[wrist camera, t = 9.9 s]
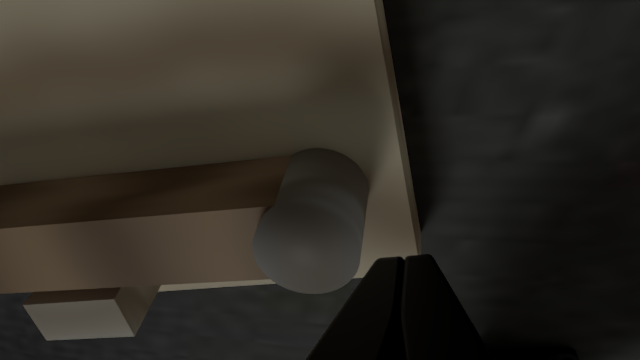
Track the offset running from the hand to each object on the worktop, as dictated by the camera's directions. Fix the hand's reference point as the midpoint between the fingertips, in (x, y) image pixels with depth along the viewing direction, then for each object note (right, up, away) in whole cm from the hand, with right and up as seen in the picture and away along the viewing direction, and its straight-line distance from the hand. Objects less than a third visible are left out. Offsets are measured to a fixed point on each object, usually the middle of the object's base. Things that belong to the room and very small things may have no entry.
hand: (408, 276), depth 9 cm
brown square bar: (-7, +1, +13) cm, 15 cm away
